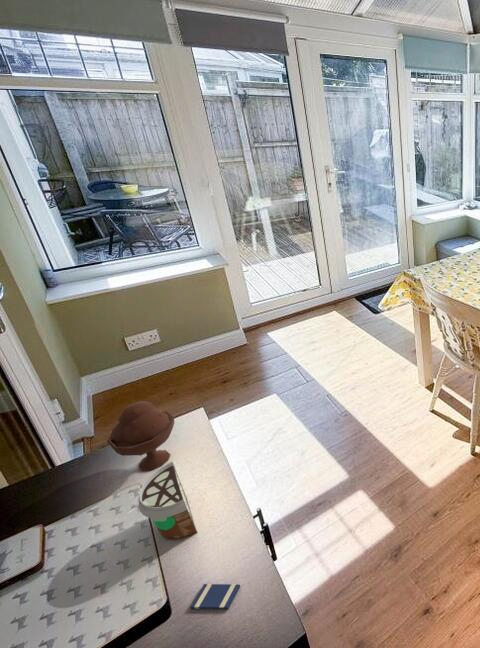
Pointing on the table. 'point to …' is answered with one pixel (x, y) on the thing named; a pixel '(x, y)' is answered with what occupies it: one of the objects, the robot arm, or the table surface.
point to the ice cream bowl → (142, 434)
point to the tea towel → (215, 596)
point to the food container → (167, 504)
